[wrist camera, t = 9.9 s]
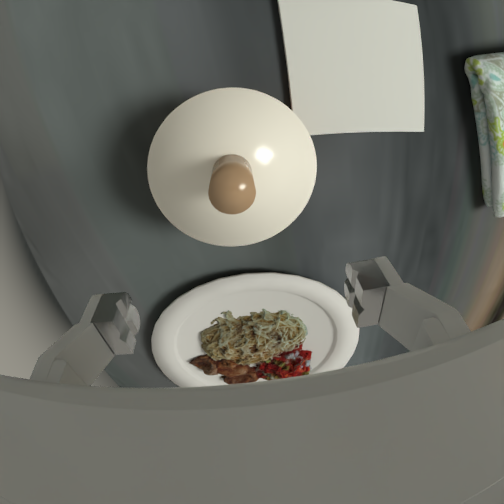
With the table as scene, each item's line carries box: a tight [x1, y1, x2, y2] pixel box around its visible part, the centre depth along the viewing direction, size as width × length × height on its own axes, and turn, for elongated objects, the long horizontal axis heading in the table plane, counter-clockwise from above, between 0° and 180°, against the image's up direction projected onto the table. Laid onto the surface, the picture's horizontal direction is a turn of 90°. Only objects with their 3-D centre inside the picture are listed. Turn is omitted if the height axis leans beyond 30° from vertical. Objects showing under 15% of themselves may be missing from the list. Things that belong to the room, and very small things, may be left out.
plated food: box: [151, 272, 359, 387], centre depth 41 cm, size 30×30×3 cm
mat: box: [277, 0, 424, 135], centre depth 22 cm, size 14×14×1 cm
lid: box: [147, 87, 317, 246], centre depth 21 cm, size 13×13×5 cm
